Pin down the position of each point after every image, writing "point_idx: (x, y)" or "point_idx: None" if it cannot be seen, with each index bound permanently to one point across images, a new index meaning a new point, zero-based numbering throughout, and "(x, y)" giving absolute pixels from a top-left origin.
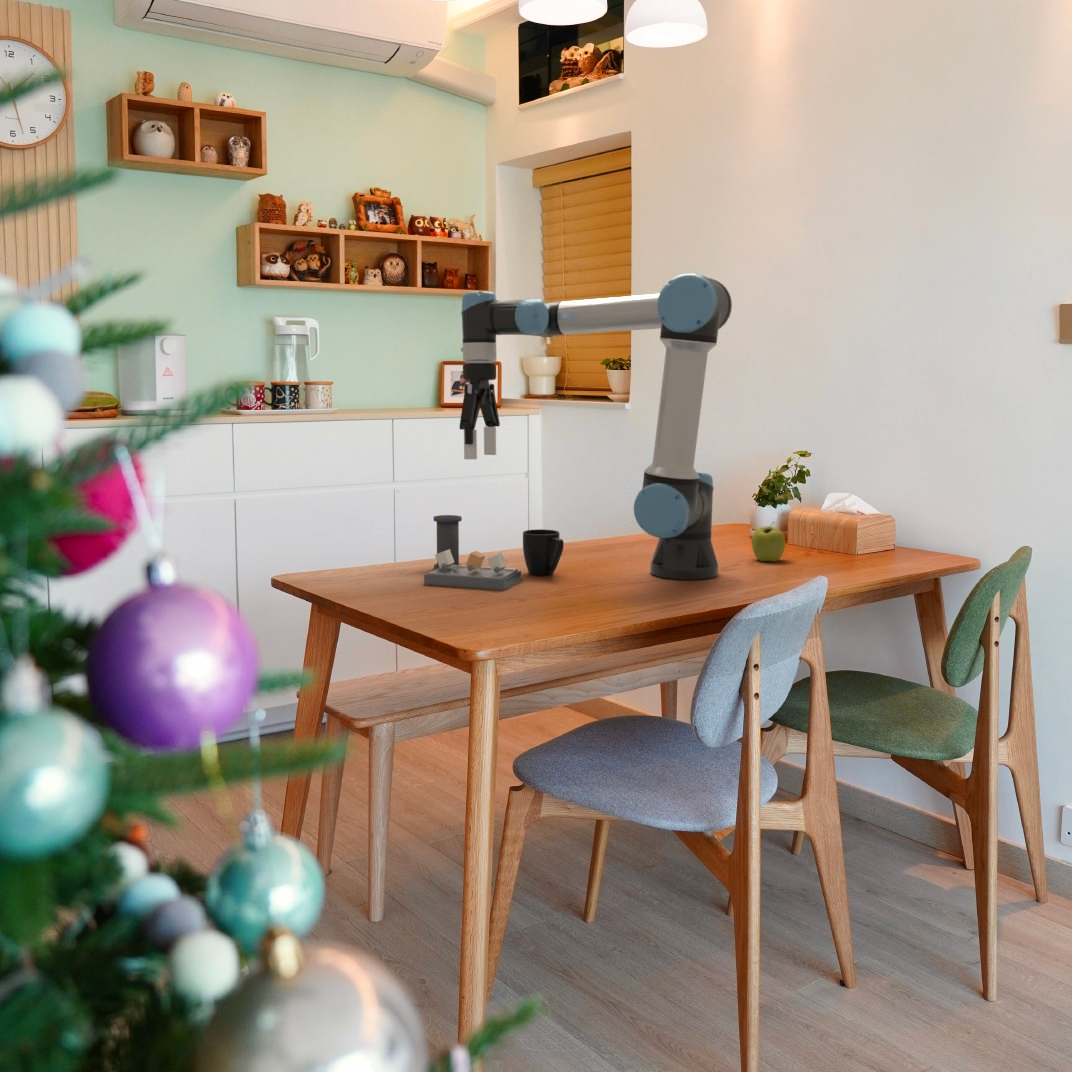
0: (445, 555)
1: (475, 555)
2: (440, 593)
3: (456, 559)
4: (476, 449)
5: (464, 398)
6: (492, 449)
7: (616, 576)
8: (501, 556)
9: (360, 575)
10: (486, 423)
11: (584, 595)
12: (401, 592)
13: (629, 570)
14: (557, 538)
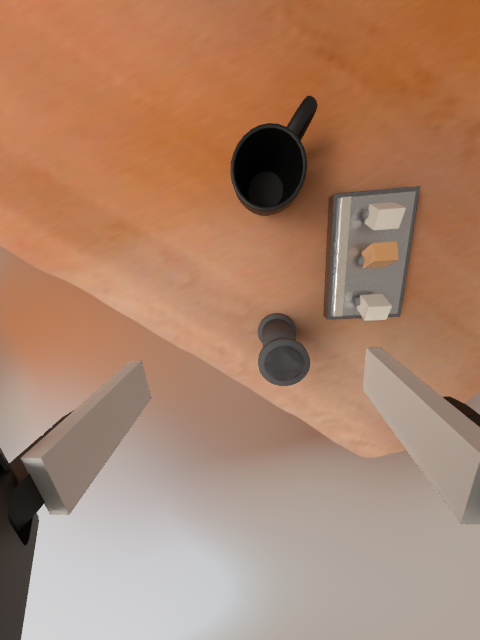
0: (388, 302)
1: (397, 250)
2: (444, 268)
3: (281, 321)
4: (392, 368)
5: None
6: (132, 381)
7: (238, 46)
8: (384, 207)
9: (351, 402)
10: (32, 531)
11: (421, 31)
12: (446, 317)
13: (176, 44)
14: (305, 110)
